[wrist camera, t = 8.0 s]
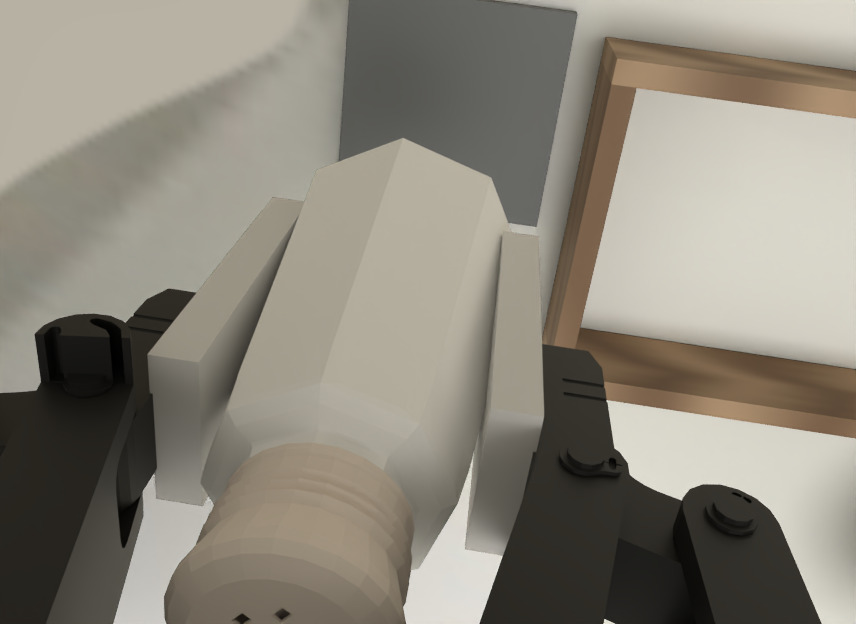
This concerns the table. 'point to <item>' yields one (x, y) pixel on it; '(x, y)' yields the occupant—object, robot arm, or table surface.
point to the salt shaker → (352, 399)
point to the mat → (460, 87)
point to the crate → (610, 111)
